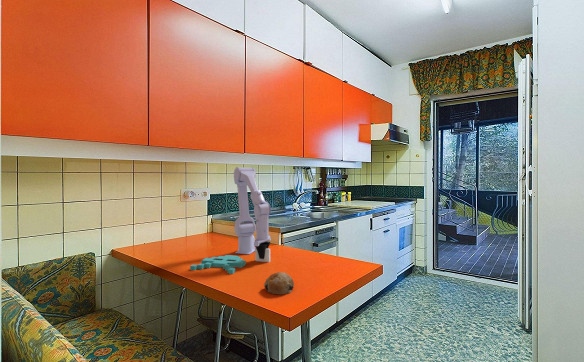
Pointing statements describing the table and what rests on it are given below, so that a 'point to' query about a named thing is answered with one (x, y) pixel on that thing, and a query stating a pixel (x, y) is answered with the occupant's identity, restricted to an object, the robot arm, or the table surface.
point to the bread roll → (279, 283)
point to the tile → (266, 258)
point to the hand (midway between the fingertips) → (262, 258)
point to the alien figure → (221, 263)
